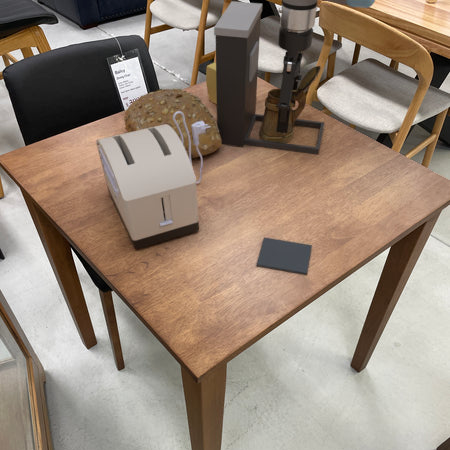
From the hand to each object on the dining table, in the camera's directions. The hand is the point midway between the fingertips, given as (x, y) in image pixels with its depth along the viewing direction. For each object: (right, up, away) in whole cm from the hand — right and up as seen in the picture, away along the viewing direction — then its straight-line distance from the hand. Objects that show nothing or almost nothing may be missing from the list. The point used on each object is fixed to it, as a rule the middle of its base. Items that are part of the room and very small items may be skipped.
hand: (286, 118), depth 113 cm
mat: (-4, -38, -25) cm, 46 cm away
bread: (-29, -6, +2) cm, 30 cm away
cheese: (-14, +11, +16) cm, 24 cm away
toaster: (-28, -26, -15) cm, 41 cm away
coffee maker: (-3, -2, +4) cm, 6 cm away
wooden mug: (0, -3, +4) cm, 5 cm away
